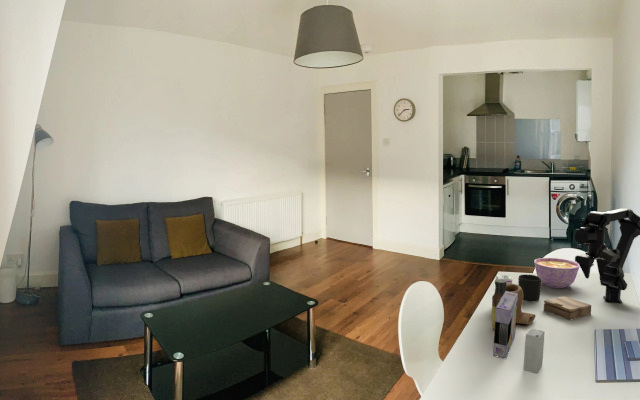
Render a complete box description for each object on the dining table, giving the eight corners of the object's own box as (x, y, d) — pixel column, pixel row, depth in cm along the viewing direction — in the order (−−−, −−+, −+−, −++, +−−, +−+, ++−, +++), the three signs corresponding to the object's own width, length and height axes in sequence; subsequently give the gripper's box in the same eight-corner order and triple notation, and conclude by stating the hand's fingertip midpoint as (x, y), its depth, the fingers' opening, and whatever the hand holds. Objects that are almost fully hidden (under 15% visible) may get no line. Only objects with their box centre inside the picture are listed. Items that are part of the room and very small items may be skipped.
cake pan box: (507, 361, 147) (509, 309, 145) (491, 357, 150) (492, 306, 147) (516, 339, 163) (518, 292, 161) (501, 336, 166) (503, 290, 164)
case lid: (564, 298, 195) (564, 295, 195) (591, 307, 184) (591, 303, 184) (544, 302, 190) (544, 299, 189) (570, 312, 179) (570, 308, 179)
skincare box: (528, 362, 146) (530, 327, 144) (543, 366, 143) (545, 330, 141) (522, 370, 141) (524, 333, 139) (538, 374, 138) (539, 337, 137)
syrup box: (512, 312, 188) (513, 279, 186) (497, 311, 189) (498, 278, 187) (509, 307, 194) (510, 275, 192) (494, 307, 195) (495, 274, 193)
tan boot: (489, 322, 178) (490, 286, 176) (496, 313, 188) (497, 278, 186) (531, 330, 170) (532, 292, 168) (535, 320, 180) (537, 284, 178)
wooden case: (564, 305, 195) (564, 298, 195) (590, 314, 185) (591, 307, 184) (543, 310, 190) (543, 303, 190) (569, 320, 179) (570, 313, 179)
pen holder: (544, 299, 203) (545, 278, 202) (533, 303, 198) (534, 281, 197) (524, 293, 211) (525, 273, 210) (513, 298, 206) (514, 276, 204)
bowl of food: (527, 279, 233) (528, 257, 232) (568, 280, 230) (569, 258, 229) (541, 291, 214) (542, 268, 212) (585, 292, 211) (587, 269, 209)
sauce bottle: (509, 329, 172) (510, 279, 169) (510, 335, 166) (512, 284, 163) (490, 327, 174) (492, 277, 171) (491, 333, 168) (493, 282, 166)
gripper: (601, 247, 180) (598, 285, 181) (629, 242, 187) (626, 278, 189) (575, 242, 190) (573, 278, 191) (603, 237, 197) (600, 272, 199)
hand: (594, 276), depth 193 cm, fingers open, 9 cm apart
